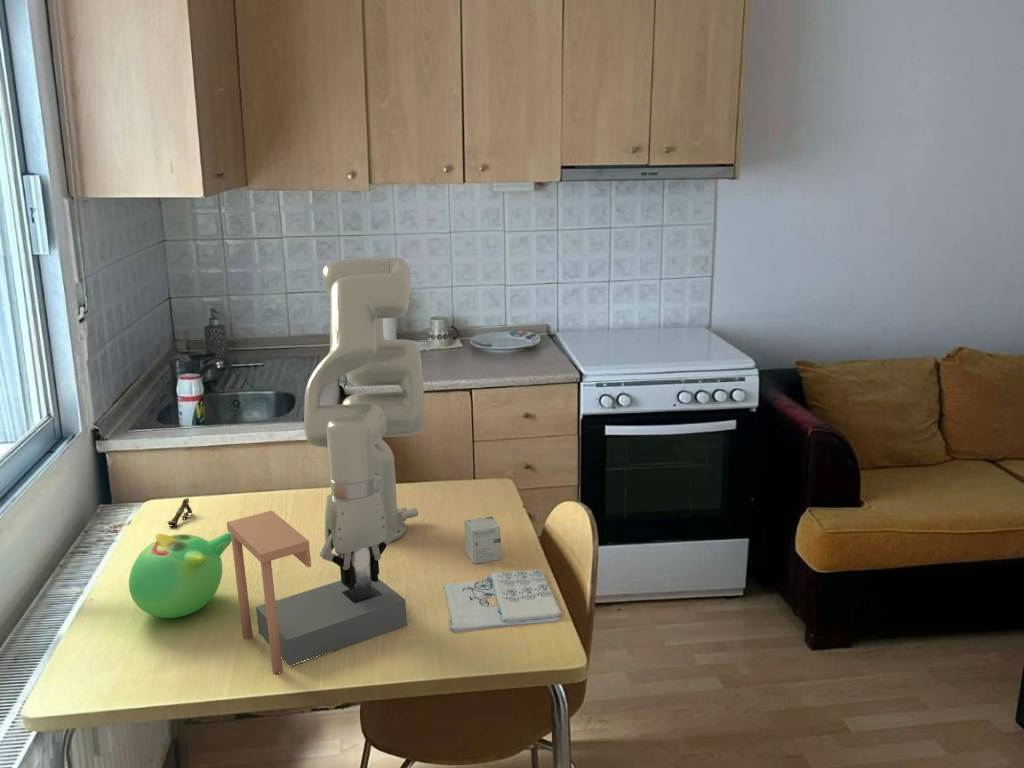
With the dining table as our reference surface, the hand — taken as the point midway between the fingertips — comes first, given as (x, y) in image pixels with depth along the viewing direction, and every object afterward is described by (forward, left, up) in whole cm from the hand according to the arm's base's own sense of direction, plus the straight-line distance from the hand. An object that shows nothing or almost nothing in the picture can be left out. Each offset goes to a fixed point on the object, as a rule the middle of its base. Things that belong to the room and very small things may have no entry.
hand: (360, 582), depth 169 cm
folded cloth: (-23, +10, -8) cm, 26 cm away
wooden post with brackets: (+13, -67, -8) cm, 68 cm away
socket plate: (+6, 0, -7) cm, 9 cm away
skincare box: (-31, -8, -8) cm, 33 cm away
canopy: (+16, 0, -7) cm, 18 cm away
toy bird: (+25, -24, -7) cm, 36 cm away
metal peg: (0, 0, -2) cm, 2 cm away
